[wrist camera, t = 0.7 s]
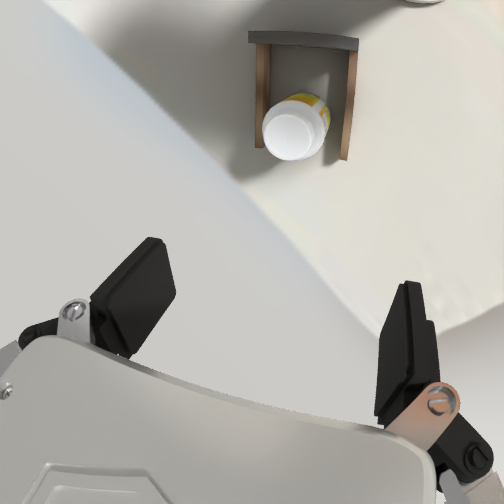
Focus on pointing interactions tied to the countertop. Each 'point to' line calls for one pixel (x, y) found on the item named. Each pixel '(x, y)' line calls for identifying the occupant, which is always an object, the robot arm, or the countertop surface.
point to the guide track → (309, 40)
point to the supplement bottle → (296, 127)
